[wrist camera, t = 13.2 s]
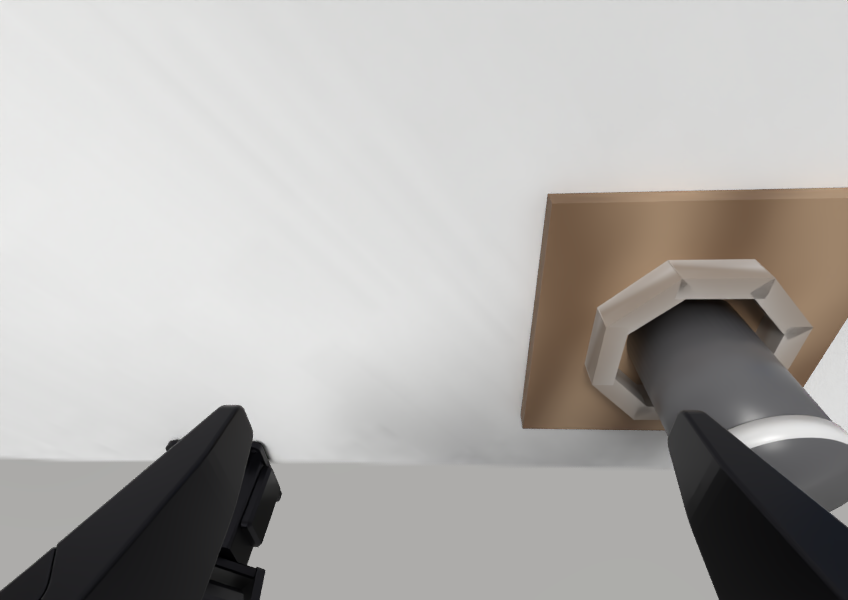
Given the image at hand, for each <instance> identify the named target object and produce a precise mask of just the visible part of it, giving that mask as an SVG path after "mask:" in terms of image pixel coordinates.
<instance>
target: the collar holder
mask: <svg viewBox="0 0 848 600" xmlns="http://www.w3.org/2000/svg"><path fill="white" fill-rule="evenodd" d="M685 299H723V300H725V301H726V302H728V303H729V304H730V305H731V306H732V307H733V308H734V309H735V310H736V311H737V313H738V314H739V315H740V316H741V317H742V318H743V319H744V321H745V322H746V323H747V324H748V325H749V326H750V328H751V329H752V330H753V331H754V332H755V333H756V334H757V336H758V337H759V338H760V339H761V340H762V341H763V342H764V344H765V345H766V346H767V347H768V348H769V349H770V350H771V352H772V353H773V354H774V355H775V356H776V357H777V359H778V360H779V361H780V362H781V363H782V364H783V365H784V367H785V368H786V369H787V370H788V371H789V372H790V373H791V375H792V376H793V377H794V378H795V379H796V380H797V381H798V383H799V384H800V385H801V386H802V387H804V385H805V384H806V382H807V380H808V379H809V377H810V376H811V374H812V373H813V371H814V369H815V368H816V366H817V365H818V363H819V362H820V360H821V359H822V357H823V355H824V354H825V352H826V351H827V349H828V348H829V346H830V344H831V343H832V341H833V340H834V338H835V337H836V335H837V333H838V332H839V330H840V329H841V327H842V326H843V324H844V323H845V321H846V319H847V318H848V188H808V189H760V190H712V191H664V192H616V193H569V194H548V197H547V205H546V213H545V221H544V229H543V237H542V245H541V254H540V262H539V270H538V278H537V286H536V294H535V302H534V311H533V319H532V327H531V335H530V343H529V351H528V359H527V368H526V376H525V384H524V392H523V400H522V408H521V420H522V427H523V428H529V429H599V430H665V429H664V427H663V425H662V423H661V421H660V419H659V416H658V414H657V412H656V410H655V408H654V406H653V404H652V402H651V400H650V398H649V396H648V394H647V392H646V389H645V387H644V385H643V383H642V381H641V379H640V377H639V375H638V373H637V371H636V369H635V367H634V365H633V362H632V360H631V358H630V356H629V354H628V351H627V338H628V335H629V334H630V333H632V332H633V331H635V330H637V329H638V328H640V327H641V326H643V325H645V324H646V323H648V322H650V321H651V320H653V319H654V318H656V317H658V316H659V315H661V314H663V313H664V312H666V311H667V310H669V309H671V308H672V307H674V306H676V305H677V304H679V303H680V302H682V301H684V300H685Z"/></svg>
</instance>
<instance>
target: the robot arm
mask: <svg viewBox="0 0 848 600" xmlns="http://www.w3.org/2000/svg"><path fill="white" fill-rule="evenodd" d="M252 440H253V430H252V427H251V425H250V422H249V420H248V417H247V415H246V413H245V410H244V408H243V407H242V406H240V405H223V406H221V407H219V408H218V409H216V410H215V411H214V412H213V413H212V414H211V415H209V416H208V417H207V418H206V419H205V420H203V421H202V422H201V423H200V424H199V425H197V426H196V427H195V428H194V429H193V430H192V431H190V432H189V433H188V434H187V435H186V436H184V437H183V438H182V439H181V440H173V441H170V442H169V443H168V445H167V446H166V451H167V452H165V453H164V454H163V455H162V456H161V457H160V458H158V459H157V460H156V461H155V462H154V463H152V464H151V465H150V466H149V467H148V468H147V469H145V470H144V471H143V472H142V473H141V474H140V475H138V476H137V477H136V478H135V479H133V480H132V481H131V482H130V483H129V484H128V485H126V486H125V487H124V488H123V489H122V490H120V491H119V492H118V493H117V494H116V495H115V496H113V497H112V498H111V499H110V500H109V501H107V502H106V503H105V504H104V505H103V506H101V507H100V508H99V509H98V510H97V511H96V512H94V513H93V514H92V515H91V516H90V517H88V518H87V519H86V520H85V521H84V522H83V523H81V524H80V525H79V526H78V527H77V528H76V529H74V530H73V531H72V532H71V533H70V534H68V535H67V536H66V537H65V538H64V539H62V540H61V541H60V542H59V543H58V544H57V547H53V548H51V549H50V550H49V551H48V552H47V553H46V554H45V555H43V556H42V557H41V558H40V559H38V560H37V561H36V562H35V563H34V564H33V565H31V566H30V567H29V568H28V569H26V570H25V571H24V572H23V573H22V574H20V575H19V576H18V577H17V578H15V579H14V580H13V581H12V582H11V583H9V584H8V585H7V586H6V587H4V588H3V589H2V590H1V591H0V600H260V595H261V589H262V585H263V580H264V575H265V570H264V569H261V568H259V567H257V568H253V567H250V566H247V563H248V560H249V557H250V554H251V551H252V549H253V547H258V546H260V544H262V541H263V538H264V536H265V533H266V530H267V527H268V524H269V521H270V518H271V515H272V512H273V509H274V506H275V503H276V502H277V501H279V500H280V498H281V495H282V493H281V491H280V486H279V484H278V482H277V479H276V477H275V474H274V472H273V469H272V468H271V466H270V463H269V461H268V458H267V456H266V453H265V451H264V448H263V446H262V445H261V444H260V443H257V442H252ZM668 448H669V452H670V455H671V459H672V463H673V466H674V470H675V474H676V477H677V481H678V485H679V488H680V492H681V496H682V499H683V503H684V507H685V510H686V514H687V517H688V520H689V523H690V526H691V528H692V531H693V534H694V537H695V539H696V542H697V544H698V547H699V550H700V552H701V555H702V557H703V560H704V562H705V565H706V568H707V570H708V572H709V575H710V578H711V580H712V583H713V585H714V588H715V590H716V593H717V596H718V598H719V600H848V527H847V526H846V525H844V524H843V523H842V522H841V521H839V520H838V519H837V518H836V517H835V516H833V515H832V514H831V513H830V512H828V511H827V510H826V509H825V508H823V507H822V506H821V505H820V504H818V503H817V502H816V501H815V500H813V499H812V498H811V497H810V496H809V495H807V494H806V493H805V492H804V491H802V490H801V489H800V488H799V487H797V486H796V485H795V484H794V483H792V482H791V481H790V480H789V479H787V478H786V477H785V476H784V475H782V474H781V473H780V472H779V471H777V470H776V469H775V468H774V467H773V466H771V465H770V464H769V463H768V462H766V461H765V460H764V459H763V458H761V457H760V456H759V455H758V454H756V453H755V452H754V451H753V450H751V449H750V448H749V447H748V446H746V445H745V444H744V443H743V442H742V441H740V440H739V439H738V438H737V437H735V436H734V435H733V434H732V433H730V432H729V431H728V430H727V429H725V428H724V427H723V426H722V425H720V424H719V423H718V422H717V421H715V420H714V419H713V418H712V417H710V416H709V415H708V414H707V413H705V412H703V411H700V410H681V411H680V412H679V413H678V414H677V416H676V419H675V421H674V423H673V426H672V428H671V430H670V433H669V435H668Z"/></svg>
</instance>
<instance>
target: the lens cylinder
mask: <svg viewBox="0 0 848 600" xmlns="http://www.w3.org/2000/svg"><path fill="white" fill-rule="evenodd" d="M627 351H628V354H629V356H630V358H631V360H632V362H633V365H634V367H635V369H636V371H637V373H638V375H639V377H640V379H641V381H642V383H643V385H644V387H645V389H646V392H647V394H648V396H649V398H650V400H651V402H652V404H653V406H654V408H655V410H656V412H657V414H658V416H659V419H660V421H661V423H662V425H663V427H664V429H665V431H666V433H667V435H669V433H670V430H671V428H672V426H673V423H674V421H675V419H676V416H677V414H678V413H679V412H680V411H681V410H700V411H703V412H705V413H707V414H708V415H709V416H710V417H712V418H713V419H714V420H715V421H717V422H718V423H719V424H720V425H722V426H723V427H724V428H725V429H727V430H728V431H729V432H730V433H732V434H733V435H734V436H735V437H737V438H738V439H739V440H740V441H742V442H743V443H744V444H745V445H746V446H748V447H749V448H750V449H751V450H753V451H754V452H755V453H756V454H758V455H759V456H760V457H761V458H763V459H764V460H765V461H766V462H768V463H769V464H770V465H771V466H773V467H774V468H775V469H776V470H777V471H779V472H780V473H781V474H782V475H784V476H785V477H786V478H787V479H789V480H790V481H791V482H792V483H794V484H795V485H796V486H797V487H799V488H800V489H801V490H802V491H804V492H805V493H806V494H807V495H809V496H810V497H811V498H812V499H813V500H815V501H816V502H817V503H818V504H820V505H821V506H822V507H823V508H825V509H826V510H827V511H828V512H830V511H832V510H834V509H836V508H838V507H840V506H842V505H843V504H845V503H846V502H848V434H847V432H846V431H845V430H844V429H843V428H841V427H840V426H839V425H837V424H836V423H834V422H832V420H831V419H830V418H829V417H828V416H827V415H826V414H825V412H824V411H823V410H822V409H821V408H820V407H819V406H818V404H817V403H816V402H815V401H814V400H813V399H812V398H811V396H810V395H809V394H808V393H807V392H806V391H805V389H804V388H803V387H802V386H801V385H800V384H799V383H798V381H797V380H796V379H795V378H794V377H793V376H792V375H791V373H790V372H789V371H788V370H787V369H786V368H785V367H784V365H783V364H782V363H781V362H780V361H779V360H778V359H777V357H776V356H775V355H774V354H773V353H772V352H771V350H770V349H769V348H768V347H767V346H766V345H765V344H764V342H763V341H762V340H761V339H760V338H759V337H758V336H757V334H756V333H755V332H754V331H753V330H752V329H751V328H750V326H749V325H748V324H747V323H746V322H745V321H744V319H743V318H742V317H741V316H740V315H739V314H738V313H737V311H736V310H735V309H734V308H733V307H732V306H731V305H730V304H729V303H728V302H726V301H725V300H723V299H685V300H684V301H682V302H680V303H679V304H677V305H676V306H674V307H672V308H671V309H669V310H667V311H666V312H664V313H663V314H661V315H659V316H658V317H656V318H654V319H653V320H651V321H650V322H648V323H646V324H645V325H643V326H641V327H640V328H638V329H637V330H635V331H633V332H632V333H630V334H629V335H628V338H627Z"/></svg>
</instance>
